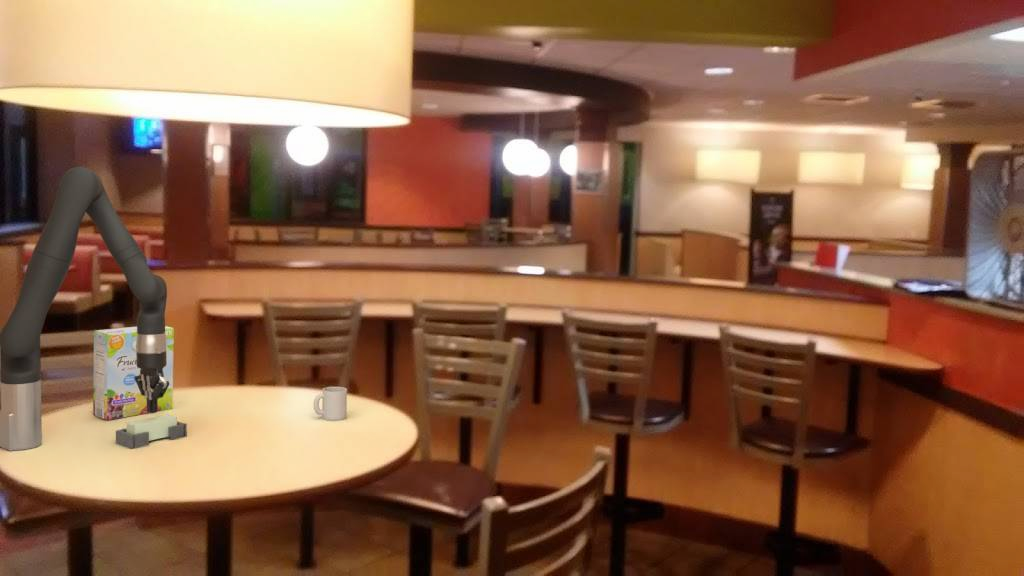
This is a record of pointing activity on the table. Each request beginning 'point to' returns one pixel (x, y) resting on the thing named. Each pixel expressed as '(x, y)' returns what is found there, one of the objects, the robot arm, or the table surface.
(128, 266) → the robot arm
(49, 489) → the table surface
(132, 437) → the end cap
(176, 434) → the end cap
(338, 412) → the cup
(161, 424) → the slat
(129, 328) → the snack box
